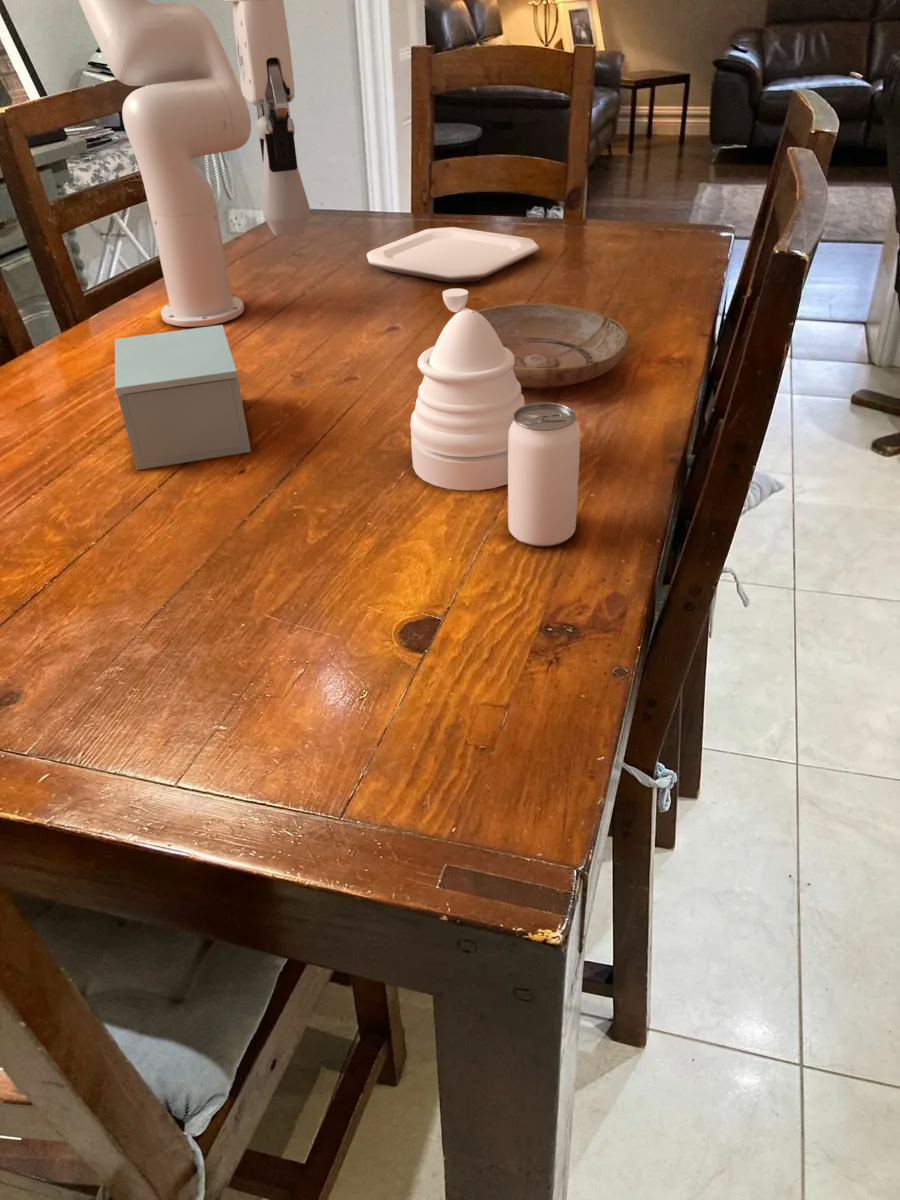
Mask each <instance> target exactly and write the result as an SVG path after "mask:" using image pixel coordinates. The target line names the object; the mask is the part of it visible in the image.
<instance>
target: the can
mask: <svg viewBox="0 0 900 1200" xmlns="http://www.w3.org/2000/svg"><path fill="white" fill-rule="evenodd" d="M513 419H514V420H513V422H512V424H511V426H510V429H509V435H508V484H507V518H508V519H507V526H508V530H509V533H510V535H512V536H513V537H514V539H515V540H517V541H518V542H520V543H521V544H524V545H527V546H530V547H538V548H539V547H540V548H546V547H554V546H559V545H562V544H564V543H565V542H566V541H569V540H570V538H572V536H573V535H574V534H575V532H576V527H577V526H576V525H577V511H578V496H579V495H578V492H579V475H580V474H579V473H580V472H579V471H580V470H579V469H580V451H581V429H580V426H579V425H578V422H577V421H576V420H577V413H576V411H575V410H573V409H572V408H571V407H569V406H567V405H565V404H561V403H555V402H533V403H528V404H525V406H522V407H520V408H519V409H517V410H516V411H515V412H514V414H513Z"/></svg>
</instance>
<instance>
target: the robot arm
mask: <svg viewBox="0 0 900 1200" xmlns="http://www.w3.org/2000/svg"><path fill="white" fill-rule="evenodd" d="M77 1H78V4H79V6H80V7H81V11H82V12H83V14H84V17H85V19H86V21H87V23H88V25H89V28H90V30H91V32H92V35H93V38H94V39H95V41H96V43H97V46H98V48H99V50H100V52H101V55H102V57H103V59H104V61H105V62H106V64H107V66H108V68H109V70H110V72H111V73H112V74H113V76H114V78H115V79H116V80H117V81H118V82H120V83H121V84H124V85H126V86H131V87H139V88H137V89H135V90H133V91H131V92H130V93H129V94H128V95H127V96H126V98H125V100H124V102H123V104H122V110H121V112H122V113H121V115H122V116H121V117H122V123H123V126H124V130H125V132H126V136H127V138H128V141H129V143H130V144H129V145H131V149H132V152H133V154H134V157H135V160H136V163H137V167H138V169H139V173H140V176H141V179H142V183H143V186H144V187H143V188H144V191H145V196H146V200H147V205H148V211H149V214H150V218H151V224H152V228H153V232H154V238H155V242H156V247H157V252H158V257H159V261H160V267H161V270H162V271H161V272H162V275H163V280H164V285H165V289H166V294H167V298H168V303H166V305H164V306H163V307H162V309H161V310H160V315H161V319H162V321H163V322H164V323H166V324H168V325H171V326H174V327H181V328H202V327H210V326H216V325H220V324H223V323H226V322H229V321H232V320H234V319H237V318H238V317H240V316H241V315H242V314H243V312H244V310H245V305H244V301H243V300H242V299H241V298H240V297H238V296H234V295H233V294H232V288H231V283H230V277H229V272H228V271H229V270H228V266H227V261H226V260H227V259H226V254H225V249H224V248H225V247H224V244H223V237H222V231H221V225H220V219H219V213H218V208H217V207H218V206H217V203H216V198H215V193H214V190H213V187H212V186H211V184H210V182H209V181H208V180H207V178H206V177H205V176H204V174H202V173H201V172H200V171H199V170H198V168H196V166H195V165H194V163H193V162H192V160H193V159H196V158H200V157H203V156H208V155H214V154H215V155H216V154H220V153H226V152H231V151H235V150H238V149H240V148H242V147H244V145H246V144H247V142H248V141H249V139H250V136H251V132H252V120H251V114H250V110H249V107H248V103H247V101H248V102H249V103H251V104H252V105H253V106H255V107H256V115H257V121H258V120H259V118H261V117H263V116H265V122H266V128H267V133H268V134H265V139H266V146H267V153H268V160H269V168H270V170H271V171H272V172H280V171H290V170H296V169H297V166H298V158H297V151H296V150H297V149H296V143H295V133H294V134H293V131H292V125H291V119H292V118H291V113H290V106H289V103H291V102H292V101H293V100H294V99H295V81H294V71H293V63H292V54H291V53H292V52H291V45H290V38H289V31H288V25H287V24H288V23H287V21H288V20H287V16H286V11H285V4H284V0H222V2H231V4H232V5H231V6H232V7H231V8H232V20H233V30H234V39H235V48H236V55H237V57H236V58H237V65H238V73H239V80H238V79H237V76H236V74H235V72H234V69H233V67H232V65H231V63H230V59H229V58H228V56H227V53H226V51H225V49H224V47H223V44H222V42H221V40H220V38H219V35H218V33H217V30H216V29H215V26H214V25H213V23H212V21H211V20H210V18H209V17H208V16H207V14H206V13H204V11H203V10H202V9H201V8H199V7H197V6H196V5H194V4H191V3H188V2H168V3H153V2H152V1H151V2H150V1H149V0H77ZM239 81H240V82H239ZM258 138H259V144H260V152H261V158H262V162H263V163H264V139H261V138H260V137H259V136H258Z"/></svg>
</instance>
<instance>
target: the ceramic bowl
mask: <svg viewBox="0 0 900 1200" xmlns="http://www.w3.org/2000/svg"><path fill="white" fill-rule="evenodd" d="M475 311H476V312H478V313H480V314H481V315H482V316H483V317H484V318H485V319H486V320H487V321H488V322H489V323H490V325H491V326H492V327H493V329H494V330H495V332H496V334H497V335H498V337H499V339H500V341H501V343H502V345H503V346H504V347H505V348H507V349H509V350H510V351H511V352H512V353H513V355H514V357H515V365H514V366H513V371H514V374H515V376H516V379H517V381H518V382H519V383H520V385H521V388H532V389H543V388H544V389H545V388H554V387H555V388H556V387H564V386H572V385H576V384H580V383H585V382H587V381H591V380H593V379H595V378H597V377H599V376H602V375H603V374H605V373H608V371H610V370H611V369H613V368H614V367H615V366H616V365H617V364H618V363H619V362H620V361H621V360H622V359H623V357H624V356H625V354H626V352H627V349H628V347H629V334H628V331H627V330H626V329H625V327H624V326H623V325H622V324H620V323H619V322H618V321H616V320H614V319H613V318H612V317H610V316H607V315H605V314H603V313H600V312H598V311H594V310H591V309H588V308H582V307H578V306H572V305H564V304H554V303H514V304H513V303H512V304H503V305H497V306H492V307H487V308H486V307H485V308H483V309H480V310H475Z"/></svg>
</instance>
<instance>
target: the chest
mask: <svg viewBox="0 0 900 1200" xmlns="http://www.w3.org/2000/svg"><path fill="white" fill-rule="evenodd" d="M117 399H118V404H119V407H120V411H121V415H122V418H123V422H124V427H125V429H126V430H125V431H126V434H127V437H128V441H129V445H130V449H131V452H132V456H133V461H134V464H135V468H136V471H141V470H147V469H148V470H149V469H154V468H160V467H166V466H173V465H178V464H184V463H190V462H196V461H202V460H210V459H214V458H223V457H229V456H233V455H240V454H246V453H251V452H252V450H251V445H250V439H249V438H250V437H249V433H248V427H247V421H246V415H245V410H244V405H243V398H242V393H241V388H240V383H239V377H238V378H232V379H225V380H218V381H211V382H204V383H197V384H190V385H183V386H176V387H169V388H162V389H156V390H149V391H142V392H135V393H128V394H121V395H117Z"/></svg>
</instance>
